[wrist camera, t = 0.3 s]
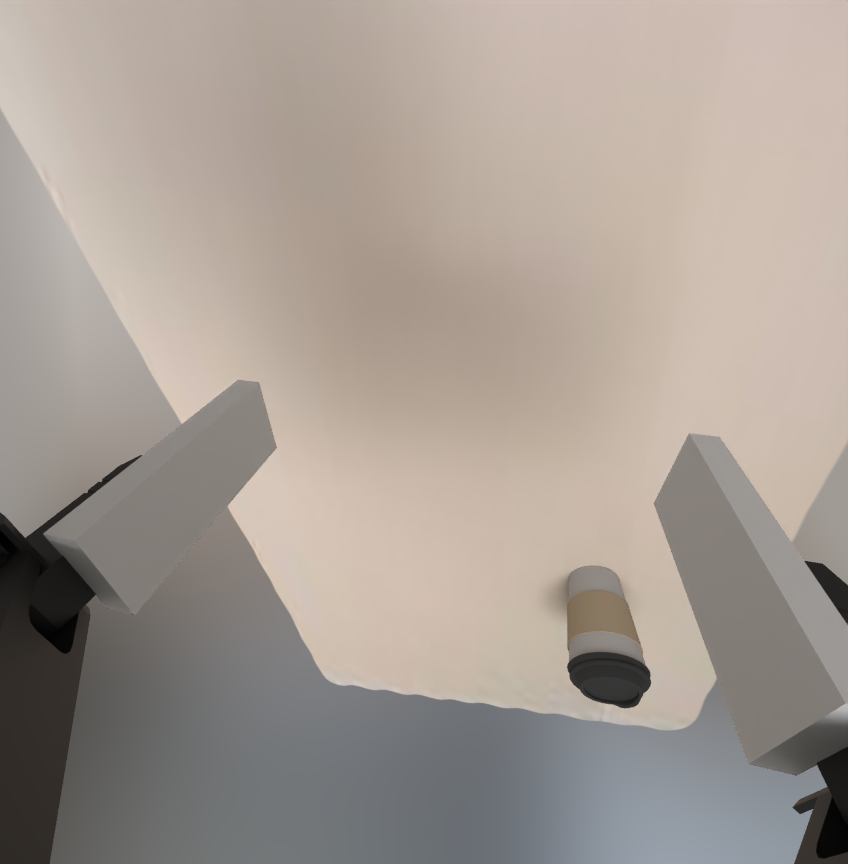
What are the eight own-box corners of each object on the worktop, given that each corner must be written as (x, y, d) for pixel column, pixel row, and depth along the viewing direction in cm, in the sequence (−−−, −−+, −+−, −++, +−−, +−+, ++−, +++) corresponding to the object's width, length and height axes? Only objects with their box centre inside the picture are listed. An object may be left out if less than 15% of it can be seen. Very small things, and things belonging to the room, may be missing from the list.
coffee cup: (547, 576, 58) (552, 686, 46) (597, 551, 53) (617, 667, 41) (589, 606, 60) (605, 718, 48) (642, 584, 55) (674, 704, 43)
